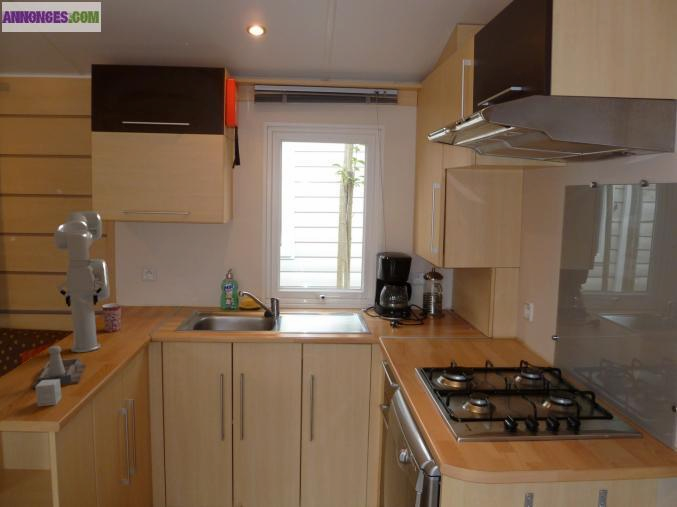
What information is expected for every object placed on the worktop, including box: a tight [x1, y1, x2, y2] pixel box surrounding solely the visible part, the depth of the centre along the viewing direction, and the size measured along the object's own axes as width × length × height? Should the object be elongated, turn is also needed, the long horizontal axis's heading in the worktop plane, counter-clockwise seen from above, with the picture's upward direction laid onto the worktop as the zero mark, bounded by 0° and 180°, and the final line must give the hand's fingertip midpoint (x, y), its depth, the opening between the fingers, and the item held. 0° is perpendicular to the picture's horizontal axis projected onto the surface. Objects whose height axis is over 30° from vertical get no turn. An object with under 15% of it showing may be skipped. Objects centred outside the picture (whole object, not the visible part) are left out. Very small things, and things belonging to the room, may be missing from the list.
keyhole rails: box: [39, 357, 82, 383], centre depth 215 cm, size 22×12×2 cm, turn 18°
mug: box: [101, 302, 122, 333], centre depth 284 cm, size 13×9×14 cm
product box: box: [35, 379, 62, 407], centre depth 189 cm, size 6×6×7 cm
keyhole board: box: [30, 362, 87, 390], centre depth 215 cm, size 22×16×1 cm
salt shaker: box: [48, 345, 65, 377], centre depth 208 cm, size 6×6×13 cm
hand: (82, 305), depth 221 cm, fingers open, 9 cm apart
